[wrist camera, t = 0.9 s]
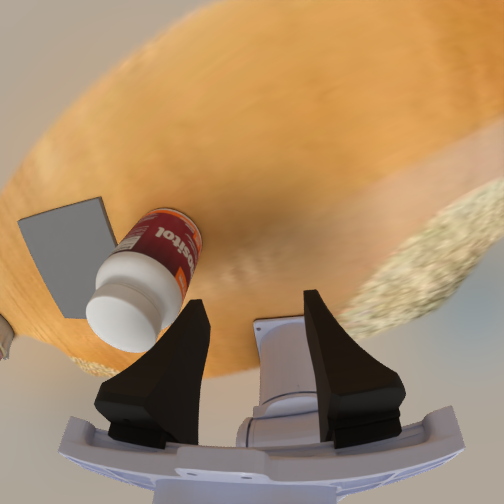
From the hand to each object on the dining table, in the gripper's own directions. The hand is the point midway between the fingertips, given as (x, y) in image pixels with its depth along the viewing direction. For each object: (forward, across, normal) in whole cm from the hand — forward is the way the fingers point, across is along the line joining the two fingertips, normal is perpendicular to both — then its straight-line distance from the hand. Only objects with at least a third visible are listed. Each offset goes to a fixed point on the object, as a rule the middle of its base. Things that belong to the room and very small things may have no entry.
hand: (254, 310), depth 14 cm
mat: (+10, +20, +3) cm, 23 cm away
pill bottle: (+11, +8, +1) cm, 13 cm away
